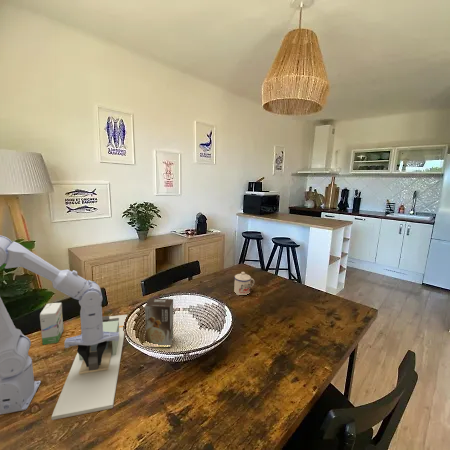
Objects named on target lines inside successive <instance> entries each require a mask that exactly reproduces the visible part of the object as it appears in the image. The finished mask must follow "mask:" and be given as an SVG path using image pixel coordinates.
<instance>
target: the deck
mask: <svg viewBox="0 0 450 450" xmlns="http://www.w3.org/2000/svg"><path fill="white" fill-rule="evenodd" d="M108 316H109V315H108ZM126 317H127V318H128V314H121V315H110V316H109V321H118V320H119V342H118V347H117V353H116V355H113V349H112V353H111V358H110V363H109V367H108V370H101V371H95V372H89V373H82V374H79V370H80V368H81V365H82V362H83V360H79V353H78V352H77V353H76V355H75V357H74V360H73V362H72V365H71V368H70V370H69V372H68V375H67V377H66V380H65V382H64V384H63V387H62V390H61V392H60V395H59V397H58V400H57V402H56V404H55V407H54V409H53V411H52V414H51V420H52V421H55V420H59V419H64V418H69V417H74V416H80V415H84V414H89V413H94V412H99V411H104V410H110V409H113V408H114V404H115V397H116V390H117V384H118V379H119V373H120V372H119V371H120V367H121V366H120V364H121V359H122V352H123V347H124V339H125V334H124V331H123V326H124V322H125V319H126Z"/></svg>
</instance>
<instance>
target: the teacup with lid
mask: <svg viewBox="0 0 450 450" xmlns="http://www.w3.org/2000/svg"><path fill="white" fill-rule="evenodd" d="M254 284H255V280H254V278H252V276H250V274H248V273H246V272H245V271H241V273H237V274H235V275H234V287H233V288H234V289H233V292H235V293H236V294H235V293H234V294H235V295H237V296H239V295H247V294H249V293H250V294H251V288H253V286H254ZM250 294H249V295H250ZM247 296H248V295H247Z"/></svg>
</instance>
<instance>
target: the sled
mask: <svg viewBox="0 0 450 450" xmlns="http://www.w3.org/2000/svg"><path fill="white" fill-rule="evenodd" d="M102 319H103V322H109V315H107V316H105V315H102ZM112 349H113V348H112V341H109V344H108V349H105V350H104V352H103V355H102V361H101V365H98V354H97V351H91V345H90V354H89V357H88V362H89V367H87V366H86V363H85V361H84V359H83V362H82V365H81V368H80V370H79V374H82V373H89V372H95V371H101V370H108V367H109V363H110V358H111V353H112Z"/></svg>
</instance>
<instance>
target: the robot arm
mask: <svg viewBox="0 0 450 450" xmlns="http://www.w3.org/2000/svg"><path fill="white" fill-rule="evenodd" d="M4 264H6V265H5V267H4V269H12V268H14V269H15V268H20V267H21V268H22V269H23V268H24V269H26V270H28V271H30V272H31V273H34V274H36V275H38V276H40V277H42V278H44V279H46V280H49V281H51V283H52V288H53V289H55V290H57V291H59V292H61V293H62V294H64V295H66V296H68V297H70V298H72V299H74V300H77V301H78V304H79V306H80V311H79V316H80V329H81V331H80V333H82V335H81V334H79V335H76V336H71V337H66V338H65V340H64V349H66V348H67V349H69V348H70V347H72V346H73V347H74V346H77V349H76V352H77V353H79V354H80V355H81V356H82V358H83V359H84V361H85V363H86V366H87V367H89V362H88V357H89V354H90V345H95V344H98V345H97V348H96V349H97V354H98V365H101V361H102V355H103V352H104V350H105V348H106V345H107V341H113V340H115V341H119V332H105V331H103V319H102V317H103V307H102V302H103V294H102V290H101V287H100V285H99V284H98V283H97V282H96V281H95V280H94V281H92V280H90V279H88V280H87V279H86V278H84V277H82V276H80V275H78V271H77V270H74V269H73V270H72V271H71V270H70V269H68V268H67V269H59V268H57V266H54V265H53V264H52V263H50V262H48V261H47V260H44V259H43V258H42V257H40V256H39V255H37V254H35V253H34V252H32V251H31V250H29V248H27V247H25V246H24V245H22V244H20V243H19V242H16V241H14V240H13V241H12V240H11V239H10V238H8V237H6V236H5V235H4V236H3V235H1V234H0V267H2V266H3V265H4ZM31 341H32V340H31V339H30V338H29V337H28V336H27V335H24V334H23V332H22V331H21V329H19V328H17V327H16V326H15V325H14V322H13V320H12V319H11V316H10V314H9V312H8V310H7V308H6V306H5V304H4V302H3V299H2V298H1V296H0V415H5V414H10V413H16V412H21V411H25V410H27V409H28V407H29V406H30V404H31V402H32V400H33V398H34V397H35V394H36V392H38V388H39V387H40V386H41V383H42V382H41V380H35V379H34V377H35V376H34V369H33V368H34V367H33V360H32V358H31V356H30V355H29V350H30V349H31V344H32V342H31Z"/></svg>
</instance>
